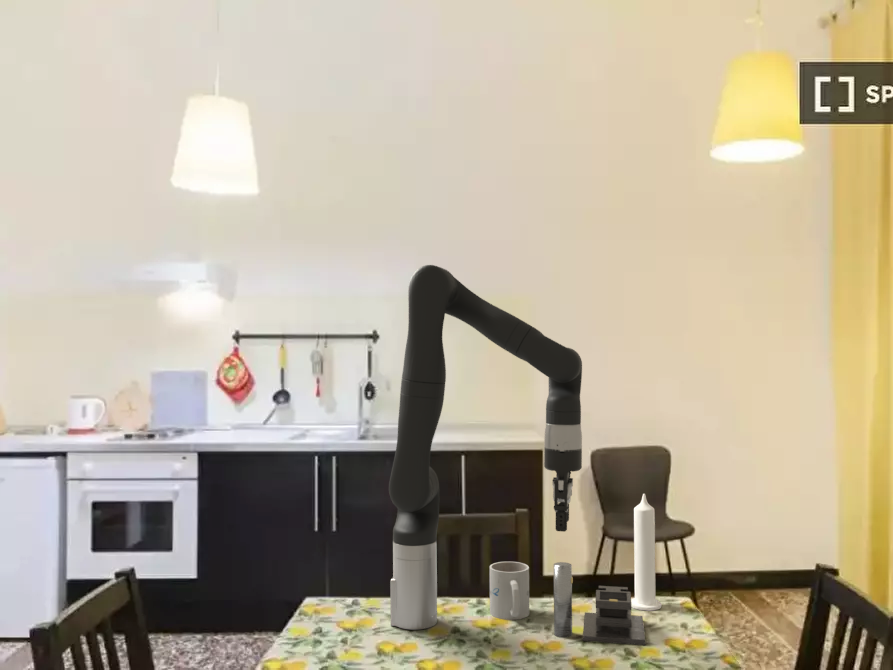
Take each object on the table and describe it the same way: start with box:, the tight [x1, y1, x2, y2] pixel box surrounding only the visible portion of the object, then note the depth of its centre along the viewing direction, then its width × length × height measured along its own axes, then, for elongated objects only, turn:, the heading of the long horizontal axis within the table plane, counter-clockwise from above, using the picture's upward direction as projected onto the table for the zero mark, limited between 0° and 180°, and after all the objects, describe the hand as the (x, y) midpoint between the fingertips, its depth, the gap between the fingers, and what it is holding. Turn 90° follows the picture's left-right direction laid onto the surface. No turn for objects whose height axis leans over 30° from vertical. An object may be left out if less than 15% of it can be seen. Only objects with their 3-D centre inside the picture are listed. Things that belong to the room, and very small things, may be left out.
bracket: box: [582, 585, 646, 646], centre depth 162 cm, size 12×14×7 cm
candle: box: [631, 493, 662, 612], centre depth 178 cm, size 7×7×25 cm
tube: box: [553, 561, 574, 638], centre depth 160 cm, size 4×4×14 cm
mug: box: [489, 561, 530, 621], centre depth 172 cm, size 12×9×10 cm
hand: (562, 526), depth 161 cm, fingers open, 8 cm apart
